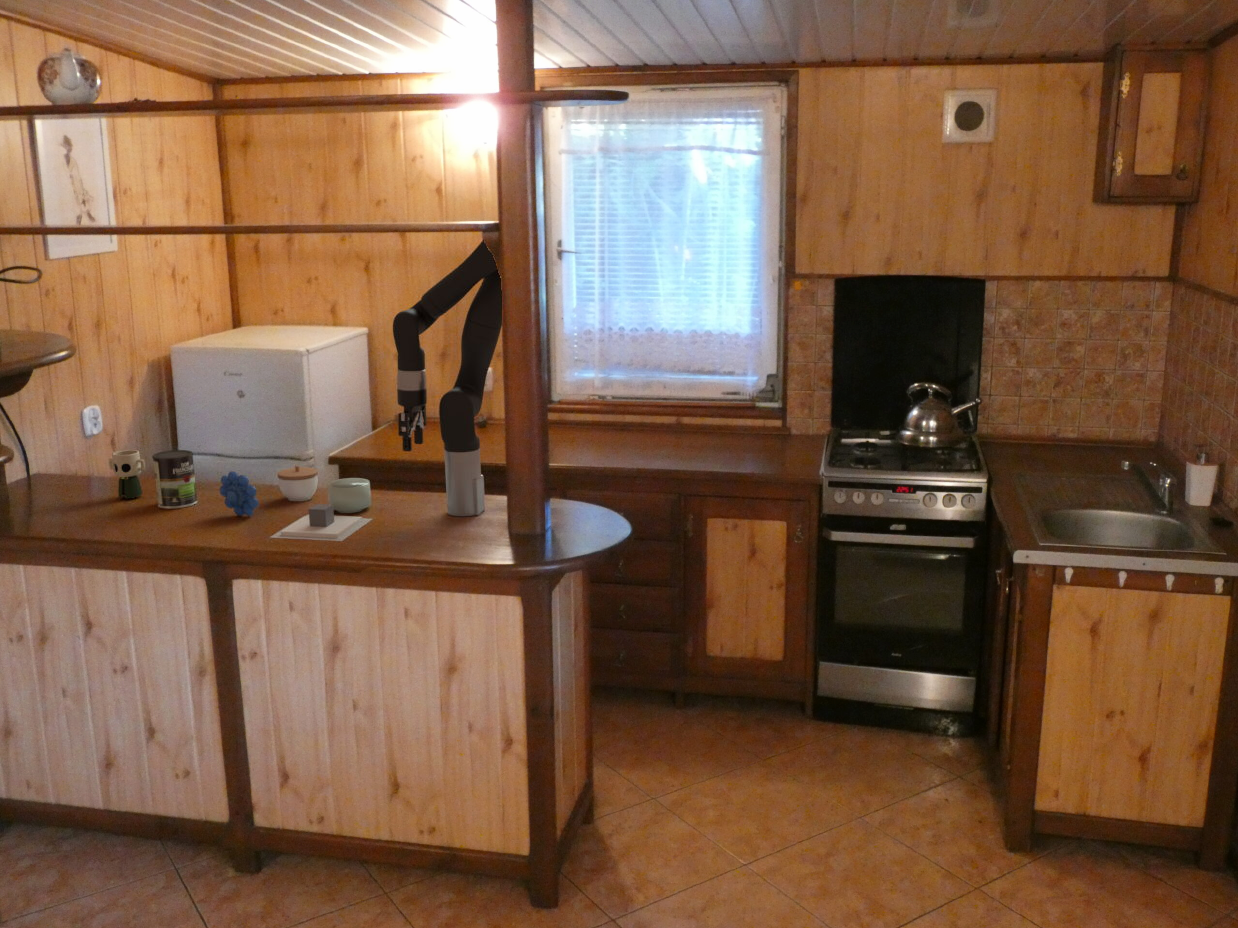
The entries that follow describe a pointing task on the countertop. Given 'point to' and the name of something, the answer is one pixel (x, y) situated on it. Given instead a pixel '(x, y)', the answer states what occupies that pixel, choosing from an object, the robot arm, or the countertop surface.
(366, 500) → the bowl
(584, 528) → the countertop surface
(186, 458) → the coffee can
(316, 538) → the mat
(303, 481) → the lidded jar
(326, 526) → the lid
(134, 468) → the character mug
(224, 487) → the grapes
